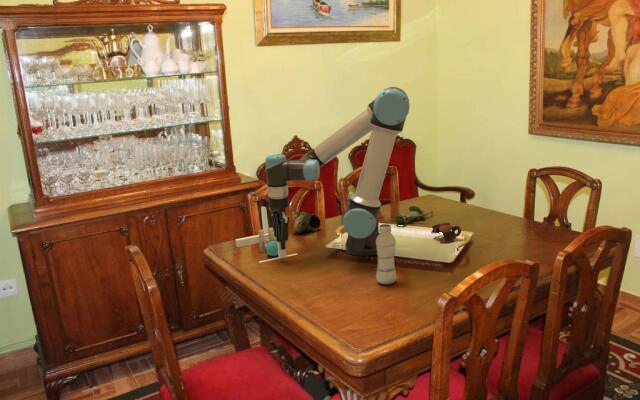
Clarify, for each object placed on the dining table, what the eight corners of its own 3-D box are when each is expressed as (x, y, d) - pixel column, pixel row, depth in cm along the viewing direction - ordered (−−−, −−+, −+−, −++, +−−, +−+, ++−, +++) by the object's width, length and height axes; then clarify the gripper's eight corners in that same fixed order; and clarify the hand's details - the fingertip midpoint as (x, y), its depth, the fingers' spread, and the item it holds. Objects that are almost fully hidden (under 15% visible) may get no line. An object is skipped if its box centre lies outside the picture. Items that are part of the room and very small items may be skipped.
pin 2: (275, 249, 227) (274, 227, 225) (272, 250, 226) (270, 229, 224) (272, 248, 228) (270, 227, 226) (268, 249, 227) (267, 228, 225)
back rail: (275, 238, 241) (275, 231, 241) (277, 239, 240) (276, 232, 239) (235, 246, 234) (235, 239, 233) (237, 247, 232) (236, 240, 231)
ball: (282, 238, 221) (281, 252, 223) (266, 237, 220) (266, 251, 223) (281, 245, 215) (280, 259, 217) (265, 244, 215) (265, 258, 217)
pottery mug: (433, 245, 223) (428, 225, 226) (436, 248, 232) (432, 229, 234) (463, 238, 220) (458, 218, 222) (465, 241, 229) (460, 222, 231)
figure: (414, 214, 270) (382, 227, 253) (412, 199, 269) (380, 211, 251) (443, 217, 258) (412, 230, 241) (442, 201, 257) (410, 214, 240)
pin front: (273, 249, 223) (265, 243, 231) (269, 247, 222) (261, 241, 230) (272, 253, 223) (263, 247, 231) (267, 252, 222) (259, 246, 230)
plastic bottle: (374, 280, 190) (372, 223, 185) (394, 278, 190) (393, 222, 186) (378, 287, 184) (376, 229, 179) (398, 285, 184) (397, 227, 179)
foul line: (296, 253, 220) (296, 253, 220) (297, 254, 219) (297, 254, 219) (258, 262, 213) (258, 261, 213) (259, 263, 212) (259, 262, 212)
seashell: (316, 236, 241) (315, 214, 238) (291, 236, 243) (289, 214, 241) (321, 229, 251) (320, 207, 249) (297, 229, 253) (295, 207, 251)
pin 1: (266, 251, 225) (264, 229, 223) (263, 252, 224) (261, 231, 222) (262, 250, 227) (260, 229, 224) (259, 251, 225) (257, 230, 223)
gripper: (262, 194, 211) (266, 254, 216) (275, 201, 199) (280, 263, 205) (280, 191, 214) (284, 250, 219) (294, 198, 202) (298, 259, 208)
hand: (282, 256), depth 212 cm, fingers closed
